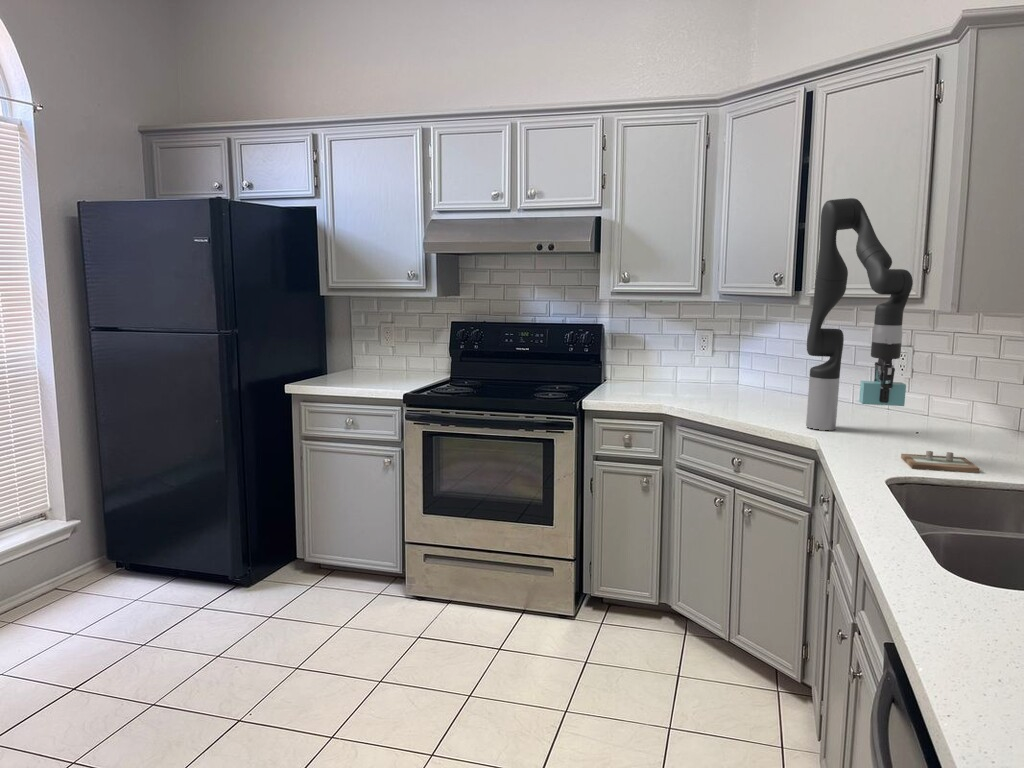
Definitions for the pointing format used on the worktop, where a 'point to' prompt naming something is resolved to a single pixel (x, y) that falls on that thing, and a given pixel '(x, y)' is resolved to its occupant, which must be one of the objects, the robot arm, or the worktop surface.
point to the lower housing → (872, 393)
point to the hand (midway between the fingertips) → (881, 400)
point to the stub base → (939, 462)
